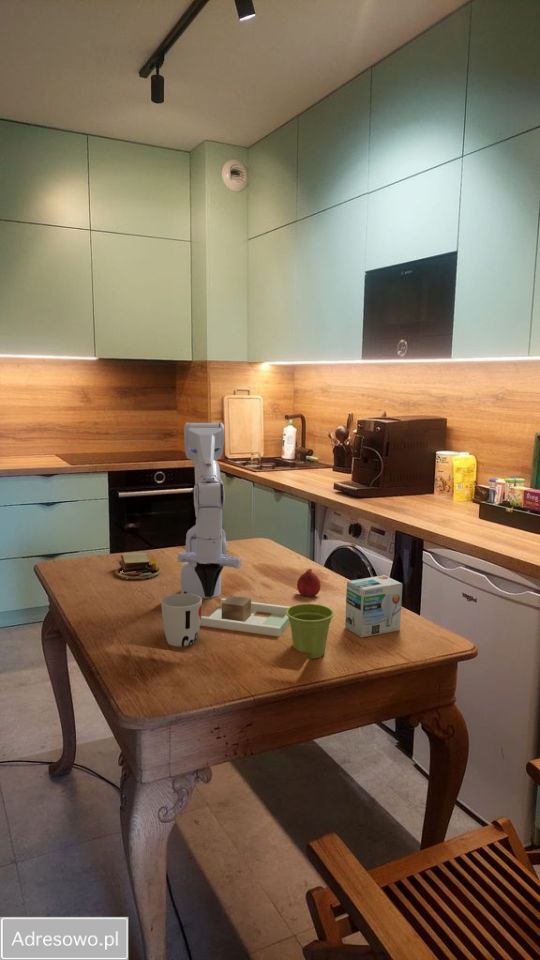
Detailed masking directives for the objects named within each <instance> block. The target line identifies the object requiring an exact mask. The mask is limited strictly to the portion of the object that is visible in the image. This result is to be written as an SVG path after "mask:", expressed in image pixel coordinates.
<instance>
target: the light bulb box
mask: <svg viewBox="0 0 540 960" xmlns="http://www.w3.org/2000/svg"><path fill="white" fill-rule="evenodd" d="M402 598H403V583H402V582H399V581H397V580H395V579H393V578H391V577H389V576H388V575H385V574H383V575H377V576H372V577H366V578H360V579H354V580H353V579H351V580H346V597H345V622H344V623H345V626H344V628H346V629H348V630H349V631H350V632H352V633H354V634H355V635H357V636H358V637H360V638H366V637H372V636H376V635H382V634H385V633H391V632H397V631H401V630H400V629H401V616H402V614H401V613H402V600H403V599H402Z"/></svg>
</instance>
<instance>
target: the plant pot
mask: <svg viewBox="0 0 540 960" xmlns="http://www.w3.org/2000/svg"><path fill="white" fill-rule="evenodd" d="M334 614H335V613H334V610H333V609H332V608H330V607H328V606H326V605H323V604H317V603H300V604H295V605H291V606H289V608H288V609H287V610H286V615H287V616H288V618H289V622H290V624H289V625H290V629H291V637H292V638H291V639H292V647H293V649H294V650H297V651H298V652H301V653H308V655H307V657H306V659H309V660H313V659H318V658H321V657H323V656H324V654H326V653H325V652H326V646H327V640H328V634H329V627H330V624H331V621H332V618H333V617H334Z"/></svg>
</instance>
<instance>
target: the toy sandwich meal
mask: <svg viewBox="0 0 540 960" xmlns="http://www.w3.org/2000/svg"><path fill="white" fill-rule="evenodd" d="M120 557H121V560H119V562H118V564H119V565H118V566H120V567H118V568H116V570H115V571H114V572H115V574H116V576H118V577H119V576H120V577H123V578H128V579H142V580H147V579H146V578H149V579H152V578H155V577H156V575H157V576H158V575H159V574H160V573H161V572H162V568H161V567H160V566H158V562H157V559H156V557H155V556H152V557H151V558H150V559H149V556H148V553H147V552H143V551H142V552H140V551H134V552H125V553H121V555H120ZM122 570H123V572H124V573H122V574H119V573H120V571H122ZM154 576H155V577H154ZM120 577H119V578H120ZM151 577H152V578H151ZM123 578H122V579H123ZM128 579H127V580H128Z"/></svg>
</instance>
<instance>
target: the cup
mask: <svg viewBox="0 0 540 960" xmlns="http://www.w3.org/2000/svg"><path fill="white" fill-rule="evenodd" d="M202 602H203V598H201V597H200V596H197V595H194V594H187V593H186V592H185V593H182V594H181V593H174V594H173V593H172V594H170V595H167V596H164V597H163V598H162V599H161V601H160V604H161V617H162V624H163V631H164V634H165V639H166V641H167V643H168V645H170V646H174V647H188V646H191V645H194V644H196V642H197V640H198V638H199V634H200V627H201V625H200V622H201V616H202V605H203V603H202ZM171 651H172V652H175V653H181V651H179V650H174V649H173V650H171Z"/></svg>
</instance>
